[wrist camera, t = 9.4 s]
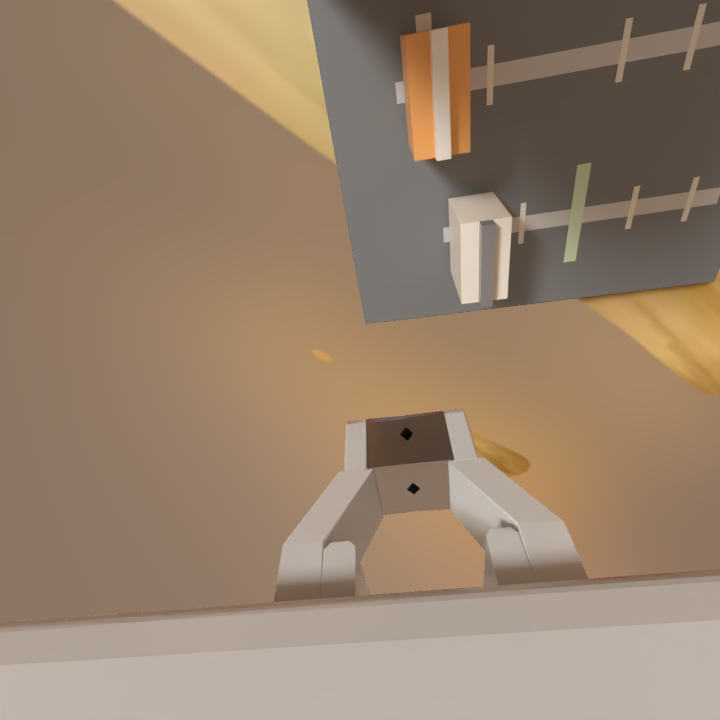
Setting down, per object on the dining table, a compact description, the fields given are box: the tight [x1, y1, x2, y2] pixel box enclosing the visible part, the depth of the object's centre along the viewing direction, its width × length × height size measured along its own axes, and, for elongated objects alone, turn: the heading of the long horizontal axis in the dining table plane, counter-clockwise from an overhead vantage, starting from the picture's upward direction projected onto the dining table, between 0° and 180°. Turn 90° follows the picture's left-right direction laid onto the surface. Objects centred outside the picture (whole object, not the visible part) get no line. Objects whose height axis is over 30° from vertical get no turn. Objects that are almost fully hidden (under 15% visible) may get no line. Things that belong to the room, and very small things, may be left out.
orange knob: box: [400, 22, 470, 161], centre depth 18 cm, size 2×4×5 cm, turn 9°
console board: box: [307, 0, 720, 324], centre depth 23 cm, size 22×18×2 cm
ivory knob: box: [448, 192, 512, 308], centre depth 22 cm, size 2×4×5 cm, turn 9°
